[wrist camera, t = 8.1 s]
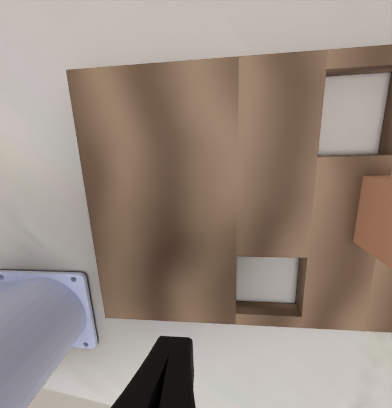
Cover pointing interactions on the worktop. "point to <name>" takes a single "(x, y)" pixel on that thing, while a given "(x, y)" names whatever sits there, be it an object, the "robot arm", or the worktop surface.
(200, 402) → the worktop surface
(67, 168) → the worktop surface
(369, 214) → the block
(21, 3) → the worktop surface
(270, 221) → the trap deck
